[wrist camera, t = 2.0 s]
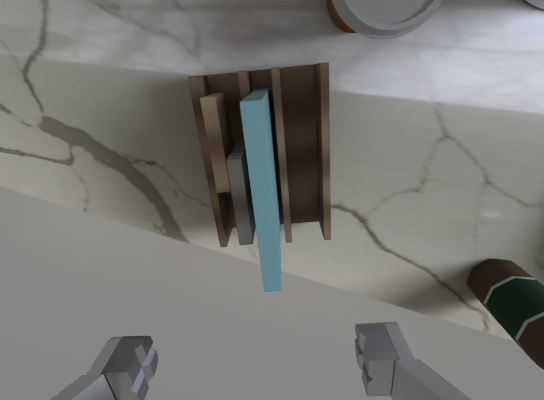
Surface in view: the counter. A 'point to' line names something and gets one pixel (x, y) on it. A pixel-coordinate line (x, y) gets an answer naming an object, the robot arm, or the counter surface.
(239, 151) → the offcut
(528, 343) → the beer bottle
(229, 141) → the offcut
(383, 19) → the disposable coffee cup
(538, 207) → the counter surface
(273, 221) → the tall sheet
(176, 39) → the counter surface
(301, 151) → the rack
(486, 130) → the counter surface
